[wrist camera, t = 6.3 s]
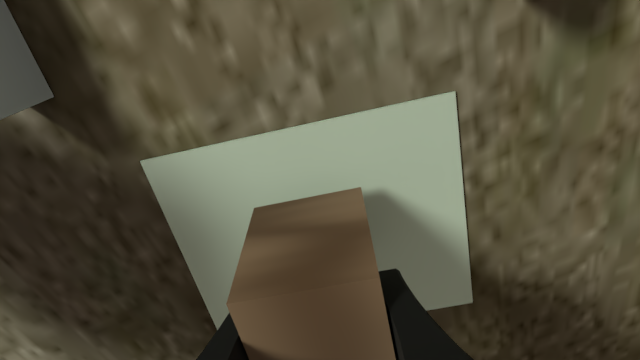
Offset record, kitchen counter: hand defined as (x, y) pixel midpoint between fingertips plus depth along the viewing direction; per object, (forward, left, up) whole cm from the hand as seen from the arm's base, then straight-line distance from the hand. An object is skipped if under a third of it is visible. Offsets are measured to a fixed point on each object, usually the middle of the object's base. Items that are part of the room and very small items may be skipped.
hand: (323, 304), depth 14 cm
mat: (0, 0, -4) cm, 4 cm away
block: (0, +1, -3) cm, 3 cm away
